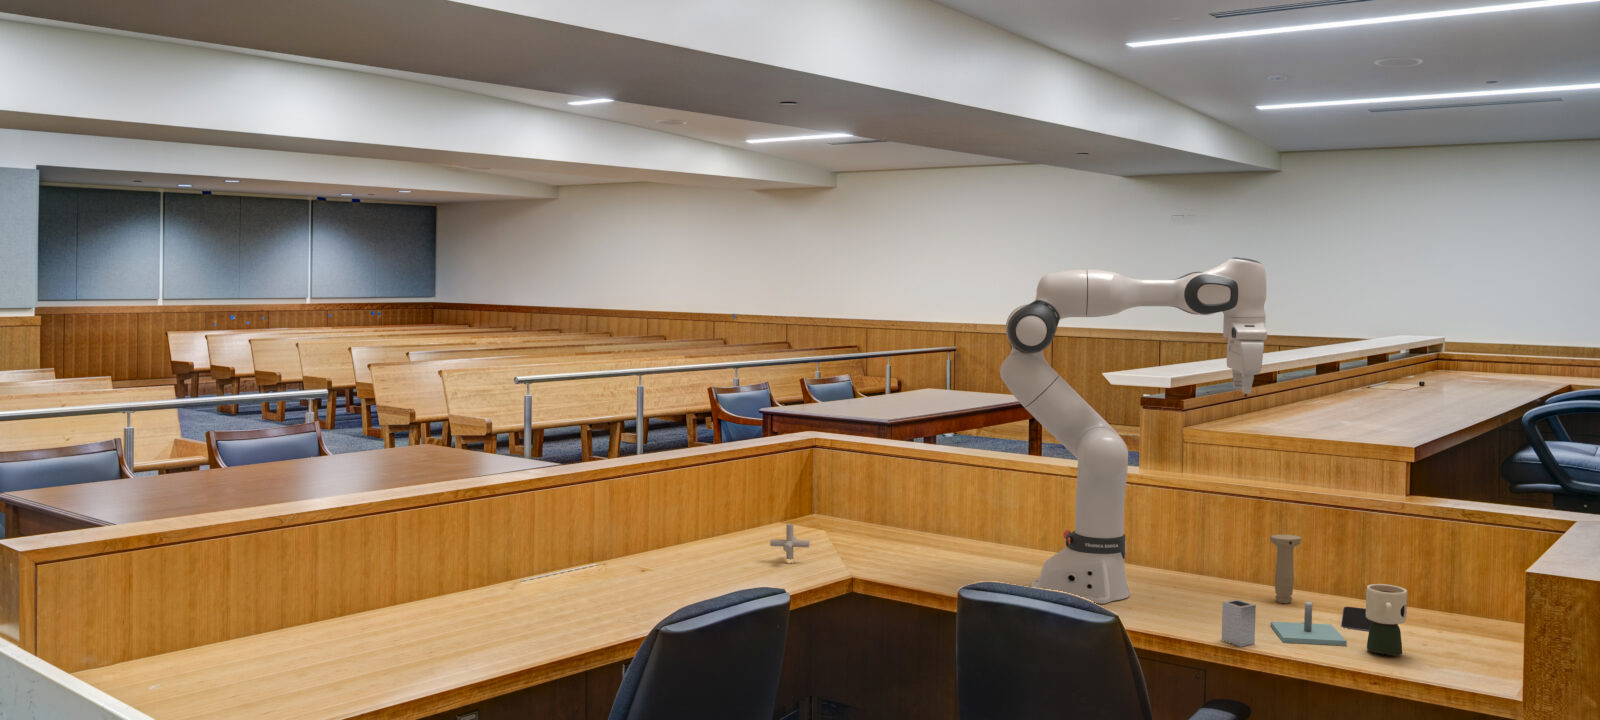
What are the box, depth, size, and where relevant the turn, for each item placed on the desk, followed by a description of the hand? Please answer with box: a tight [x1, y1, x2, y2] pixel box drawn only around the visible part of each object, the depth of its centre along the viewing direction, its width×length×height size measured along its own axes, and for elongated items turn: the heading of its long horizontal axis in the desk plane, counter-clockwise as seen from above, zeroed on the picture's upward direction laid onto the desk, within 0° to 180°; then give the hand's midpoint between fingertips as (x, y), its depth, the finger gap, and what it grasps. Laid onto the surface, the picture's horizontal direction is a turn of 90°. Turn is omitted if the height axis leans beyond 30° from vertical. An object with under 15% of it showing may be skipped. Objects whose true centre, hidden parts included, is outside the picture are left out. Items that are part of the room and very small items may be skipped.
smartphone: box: [1340, 606, 1374, 633], centre depth 247 cm, size 7×1×15 cm
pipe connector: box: [769, 523, 810, 560], centre depth 295 cm, size 10×10×10 cm
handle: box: [1270, 534, 1302, 604], centre depth 260 cm, size 5×6×15 cm
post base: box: [1270, 601, 1347, 647], centre depth 236 cm, size 12×11×7 cm
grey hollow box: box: [1221, 598, 1257, 648], centre depth 232 cm, size 4×5×8 cm
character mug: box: [1365, 583, 1408, 657], centre depth 225 cm, size 11×7×13 cm, turn 159°
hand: (1242, 391), depth 259 cm, fingers open, 8 cm apart
